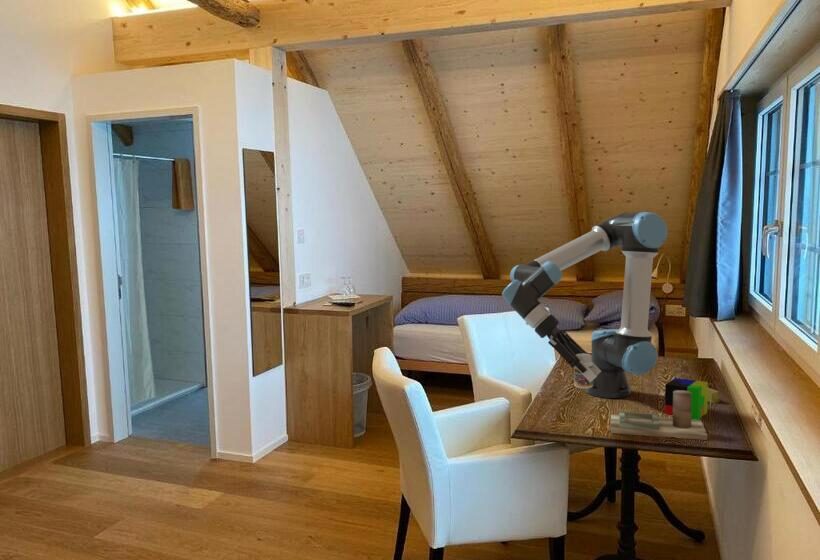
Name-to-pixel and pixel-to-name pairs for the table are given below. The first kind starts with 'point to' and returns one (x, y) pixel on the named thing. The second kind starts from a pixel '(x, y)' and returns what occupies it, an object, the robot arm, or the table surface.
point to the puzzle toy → (698, 396)
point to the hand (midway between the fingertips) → (595, 376)
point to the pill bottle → (578, 376)
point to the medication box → (712, 396)
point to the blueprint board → (662, 421)
